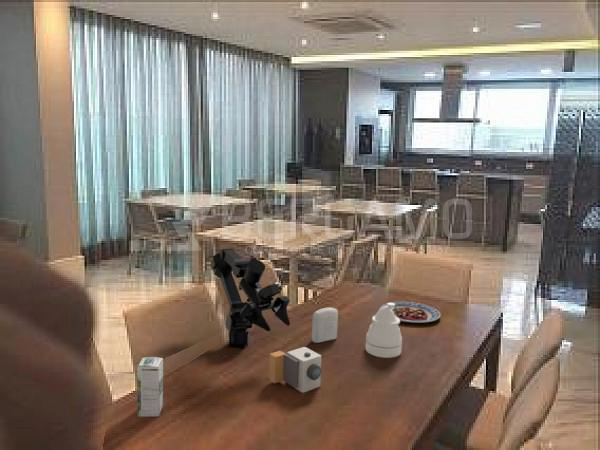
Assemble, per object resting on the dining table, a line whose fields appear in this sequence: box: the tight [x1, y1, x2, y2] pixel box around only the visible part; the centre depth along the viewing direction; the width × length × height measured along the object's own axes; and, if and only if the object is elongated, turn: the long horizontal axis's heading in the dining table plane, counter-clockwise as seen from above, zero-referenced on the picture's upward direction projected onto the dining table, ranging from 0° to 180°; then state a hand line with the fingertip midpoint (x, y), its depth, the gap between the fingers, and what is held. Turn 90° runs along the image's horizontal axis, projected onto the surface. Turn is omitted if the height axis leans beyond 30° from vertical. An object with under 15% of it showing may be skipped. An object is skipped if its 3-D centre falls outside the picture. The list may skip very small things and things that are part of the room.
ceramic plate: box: [379, 301, 441, 324], centre depth 219 cm, size 26×26×3 cm
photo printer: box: [311, 307, 339, 344], centre depth 188 cm, size 10×4×12 cm, turn 123°
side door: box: [268, 350, 298, 389], centre depth 152 cm, size 9×4×8 cm, turn 39°
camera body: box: [286, 346, 322, 394], centre depth 153 cm, size 10×7×11 cm
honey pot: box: [365, 302, 403, 359], centre depth 180 cm, size 13×13×18 cm
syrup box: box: [136, 356, 164, 418], centre depth 135 cm, size 6×6×14 cm
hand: (279, 327), depth 161 cm, fingers open, 9 cm apart
